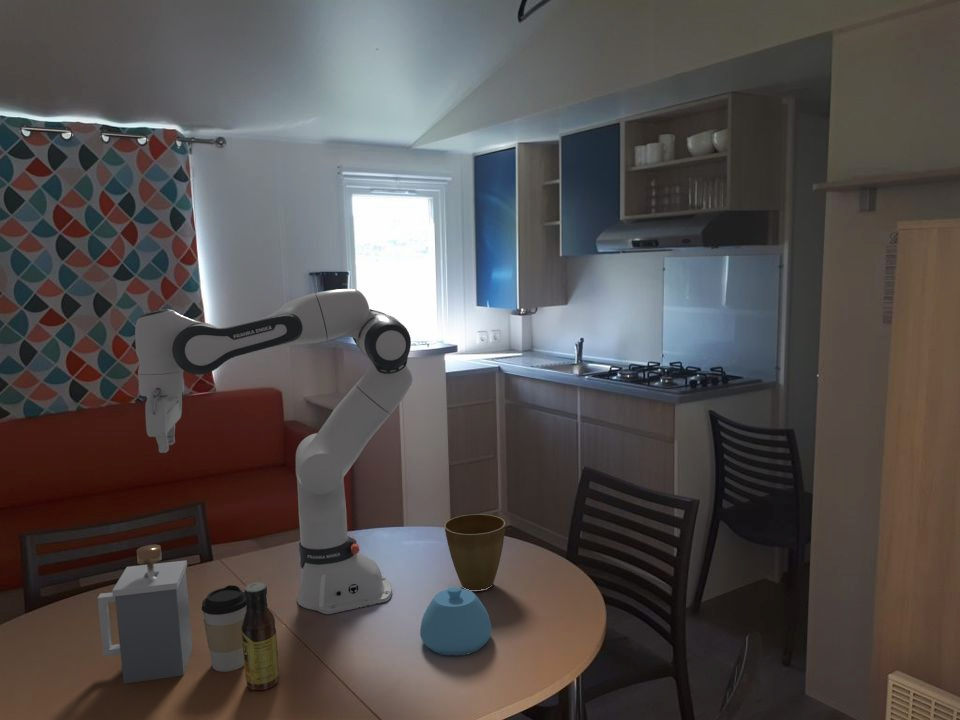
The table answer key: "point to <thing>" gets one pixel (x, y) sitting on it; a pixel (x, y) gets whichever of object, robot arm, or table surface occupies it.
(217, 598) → the coffee cup
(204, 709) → the table surface
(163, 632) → the press jug
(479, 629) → the sugar bowl
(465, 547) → the plant pot
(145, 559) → the press plunger
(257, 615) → the sauce bottle
